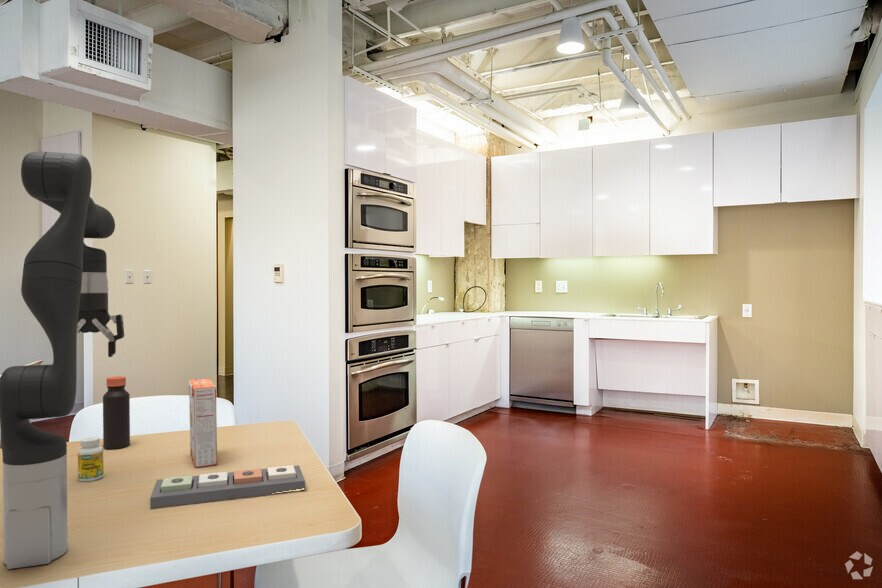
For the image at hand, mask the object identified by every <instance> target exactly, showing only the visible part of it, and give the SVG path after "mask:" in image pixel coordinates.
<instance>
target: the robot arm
mask: <svg viewBox="0 0 882 588" xmlns="http://www.w3.org/2000/svg"><path fill="white" fill-rule="evenodd" d="M92 176H93V174H92V166H91V163H90V161H89V159H88V158H87V157H86V156H84V154H83V155H82V154H78V153H67V152H55V151H54V152H53V151H31V152H29V153H26V154H25V155H24V156H23V159H22V161H21V167H20V178H21V182H22V186H23V188H24V190H25V191H26V193H27V194H28V195H29V196H31V197H32V198H33V199H35V200H37V201H39V202H41V203H43V204H44V205H46V206H48V207H49V208H52V209H53V210H55V211H56V212H58V213H59V214H60V215H59V217H58V218H57V220H55V222H54V223H53V225H51V227H50V228H49V229H48V230H46V232H45V233H44V234H42V236H41V237H40V238H39V239H38V240H37V241H36V242H35V244H33V246H32V247H31V248H30V249H29V251H28V252H27V254H26V256H25V258H24V261H23V267H22V268H23V269H22V277H21V287H20V291H21V292H20V294H21V296H22V299H23V301H24V303H25V304H26V306H27V308H28V310H29V311H30V313H31V314H32V315H33V317H34V318H35V319H36V321H37V322H38V323H39V325H40V326H41V328H42V329H43V331H44V332H45V335H46V336H47V338H48V340H49V343H50V346H51V349H52V355H53V356H52V357H53V358H52V359H53V361H52V364H34V365H15V366H13V365H12V366H10V367H7V368H5V370H4V371H3V372H2V373H1V376H0V446H1V452H2V453H1V454H2V513H3V514H2V518H3V519H2V520H3V521H2V523H3V524H2V528H3V530H2V531H3V532H2V534H3V564H4V565H6V569H7V570H14V569H18V568H25V567H26V568H28V567H33V566H34V567H35V566H40V565H41V566H42V565H47V564H50V563H51V562H52V561H53V560H56V559H57V558H59V557H61V556H63V555H64V554H66V552H67V551H68V548H69V547H68V546H69V544H68V543H69V542H68V540H69V539H68V537H69V535H68V534H69V533H68V529H69V527H68V525H69V524H68V452H67V451H68V445H67V439H66V438H65V437H64V436H62V435H60V434H58V433H57V434H56V433H52V432H49V431H45V430H43V429H41V428H39V427H36V426H35V425H33V424H32V423H31V422H30V420H37V419H51V418H63V417H67V416H69V414H71V412H72V411H73V408H74V406H75V403H76V396H77V395H76V394H77V378H78V377H77V374H78V373H77V370H78V369H77V364H78V363H77V362H78V360H77V353H78V352H77V349H78V348H77V346H78V345H77V343H78V342H77V339H78V338H77V337H78V335H79V334H80V333H83V334H87V333H94V334H96V333H100V332H101V333H102V335H103V336H105V337H106V338H107V339H108V340H109V341H108V342H107V356H108V358H112V357H113V356H114V355H116V351H117V344H116V342H117V341H118V340H121V339H123V338H125V327H124V316H123V314H115V315H113V314H112V315H110V313H109V281H108V274H107V273H108V267H107V265H108V263H107V262H108V261H107V260H108V259H107V252H106V251H105V250H104V249H102V248H97V247H92V246H88V245H86V243H85V242H84V240H85V239H108V238H110V236H112V235H113V234H114V232H115V230H116V229H115V228H116V223H115V219H114V216H113V215H112V213H111V212H110V211H109V210H108V209H107V208H105V207H103V206H101V205H99V204H97V203H95V201H94V200H93V198H92V197H91V191H92V190H91V189H92V179H93V178H92ZM110 321H112V323H113V324H115V325H116V334H114V333H113V332H112V331H111V329H110V327H108V326H107V325H108V324H109V322H110Z"/></svg>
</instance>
